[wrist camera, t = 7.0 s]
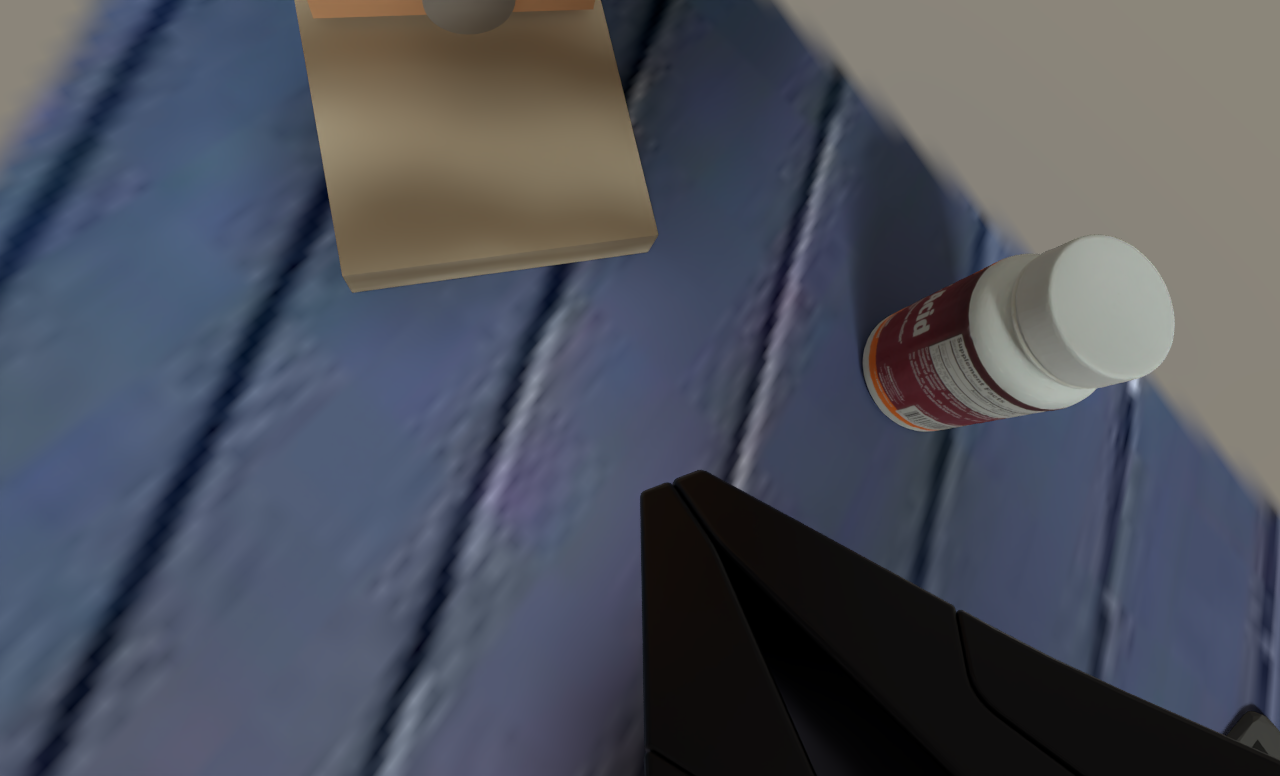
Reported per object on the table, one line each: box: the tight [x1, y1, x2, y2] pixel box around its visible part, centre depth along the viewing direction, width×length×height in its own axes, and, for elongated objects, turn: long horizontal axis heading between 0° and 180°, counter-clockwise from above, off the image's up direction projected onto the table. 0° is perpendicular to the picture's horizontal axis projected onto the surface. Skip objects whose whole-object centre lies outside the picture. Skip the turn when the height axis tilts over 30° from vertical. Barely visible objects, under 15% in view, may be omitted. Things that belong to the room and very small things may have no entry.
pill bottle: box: [863, 235, 1175, 432], centre depth 21 cm, size 5×5×8 cm
